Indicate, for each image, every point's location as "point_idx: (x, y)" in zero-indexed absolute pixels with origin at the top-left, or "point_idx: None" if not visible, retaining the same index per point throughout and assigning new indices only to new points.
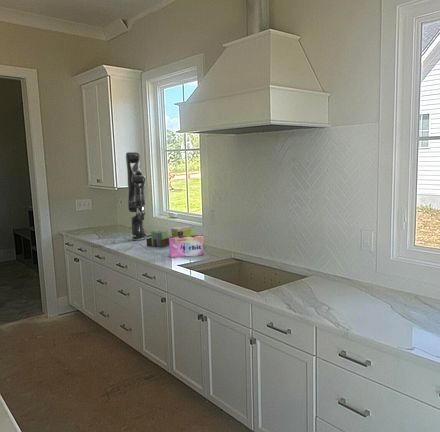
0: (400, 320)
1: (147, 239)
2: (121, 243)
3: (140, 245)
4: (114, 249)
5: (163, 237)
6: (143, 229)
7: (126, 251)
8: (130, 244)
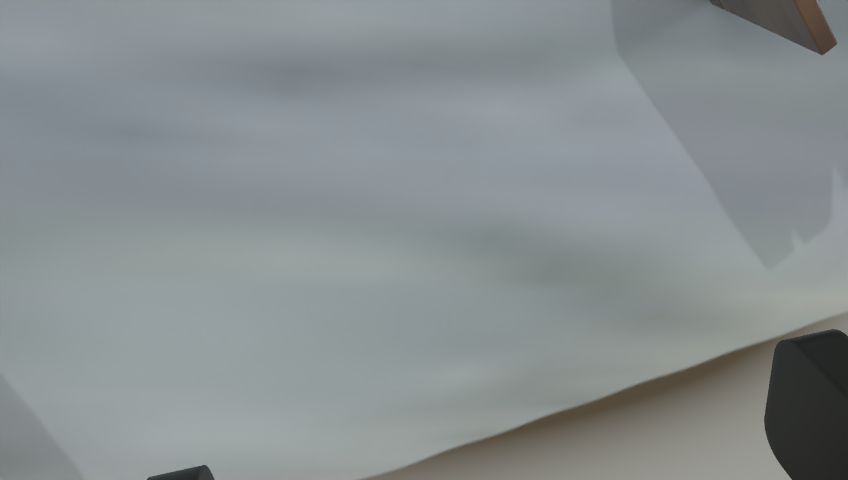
0: None
1: (824, 27)
2: (7, 375)
3: (411, 88)
4: (483, 438)
5: None
6: None
7: (733, 309)
8: (196, 245)
